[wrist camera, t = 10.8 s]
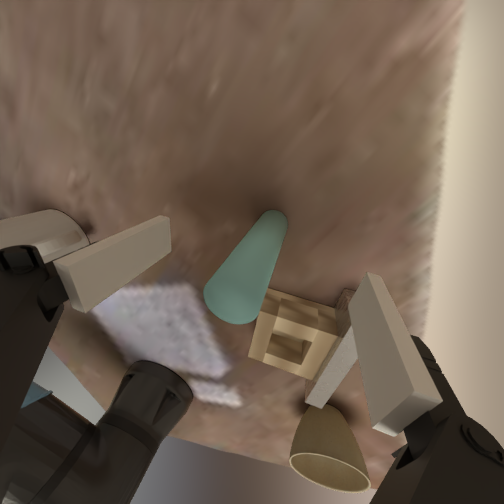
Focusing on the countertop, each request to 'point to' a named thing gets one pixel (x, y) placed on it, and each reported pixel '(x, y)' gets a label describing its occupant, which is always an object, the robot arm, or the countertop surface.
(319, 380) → the backstop rail
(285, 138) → the countertop surface
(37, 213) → the mug
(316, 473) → the flower pot
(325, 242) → the countertop surface
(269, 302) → the block
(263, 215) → the dowel
